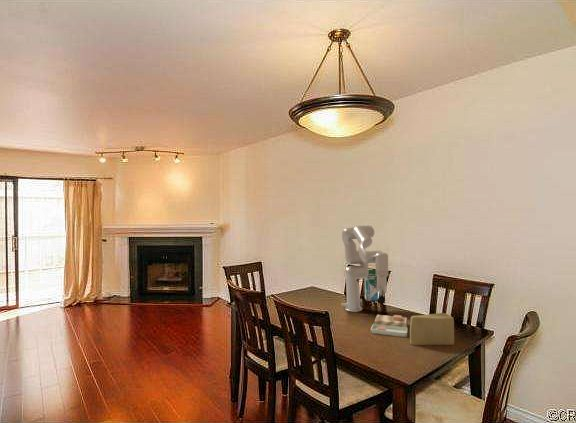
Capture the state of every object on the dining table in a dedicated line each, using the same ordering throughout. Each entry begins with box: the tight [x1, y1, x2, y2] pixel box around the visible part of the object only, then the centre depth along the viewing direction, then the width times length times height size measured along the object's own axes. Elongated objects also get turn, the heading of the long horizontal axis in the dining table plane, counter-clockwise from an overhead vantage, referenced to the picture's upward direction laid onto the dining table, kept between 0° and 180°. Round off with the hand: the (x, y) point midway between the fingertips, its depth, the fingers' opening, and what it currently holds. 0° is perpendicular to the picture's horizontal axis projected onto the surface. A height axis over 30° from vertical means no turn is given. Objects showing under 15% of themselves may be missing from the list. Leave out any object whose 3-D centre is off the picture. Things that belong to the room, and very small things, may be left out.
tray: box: [370, 323, 409, 338], centre depth 193 cm, size 20×10×2 cm, turn 67°
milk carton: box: [363, 268, 379, 302], centre depth 267 cm, size 9×9×25 cm
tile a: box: [377, 326, 386, 331], centre depth 194 cm, size 4×4×2 cm
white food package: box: [374, 314, 408, 327], centre depth 204 cm, size 18×12×4 cm, turn 67°
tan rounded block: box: [409, 312, 455, 346], centre depth 176 cm, size 22×10×15 cm, turn 95°
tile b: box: [393, 314, 403, 321], centre depth 202 cm, size 4×4×2 cm
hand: (382, 302), depth 201 cm, fingers closed
